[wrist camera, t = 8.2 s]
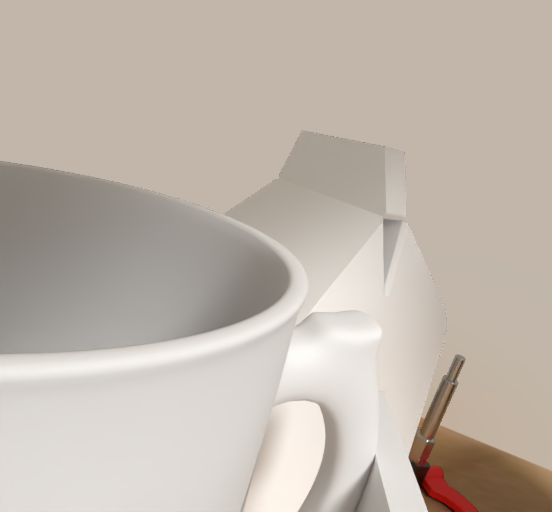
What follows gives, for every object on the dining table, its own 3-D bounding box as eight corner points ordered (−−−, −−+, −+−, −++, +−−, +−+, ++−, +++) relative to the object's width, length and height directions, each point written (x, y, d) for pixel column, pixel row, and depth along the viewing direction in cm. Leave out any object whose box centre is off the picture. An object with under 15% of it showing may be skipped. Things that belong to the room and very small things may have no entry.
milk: (119, 503, 28) (188, 101, 21) (261, 459, 35) (348, 145, 28) (187, 717, 19) (349, 127, 12) (363, 601, 25) (529, 183, 19)
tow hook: (517, 580, 30) (438, 473, 38) (603, 439, 26) (494, 354, 34) (421, 596, 27) (358, 477, 35) (501, 440, 23) (410, 347, 32)
